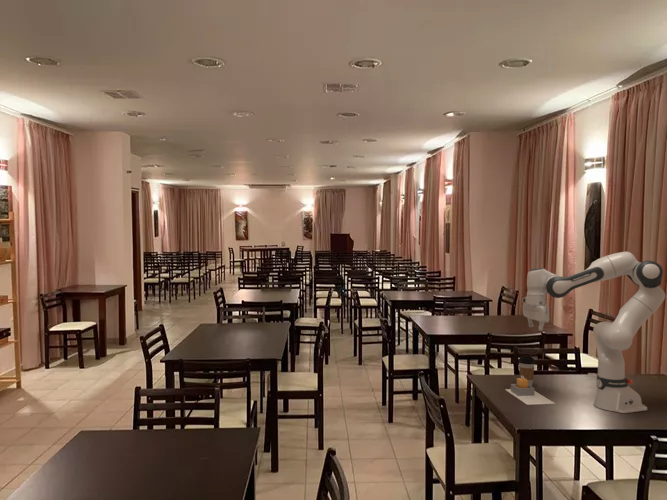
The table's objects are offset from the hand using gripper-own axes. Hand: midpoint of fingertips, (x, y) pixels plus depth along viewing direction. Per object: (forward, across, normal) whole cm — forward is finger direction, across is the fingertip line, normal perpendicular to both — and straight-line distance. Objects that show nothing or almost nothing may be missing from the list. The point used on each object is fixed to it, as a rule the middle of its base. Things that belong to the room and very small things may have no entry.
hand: (535, 328), depth 259 cm
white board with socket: (+34, -2, +4) cm, 34 cm away
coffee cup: (+34, +19, -5) cm, 39 cm away
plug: (+33, +3, +5) cm, 34 cm away
